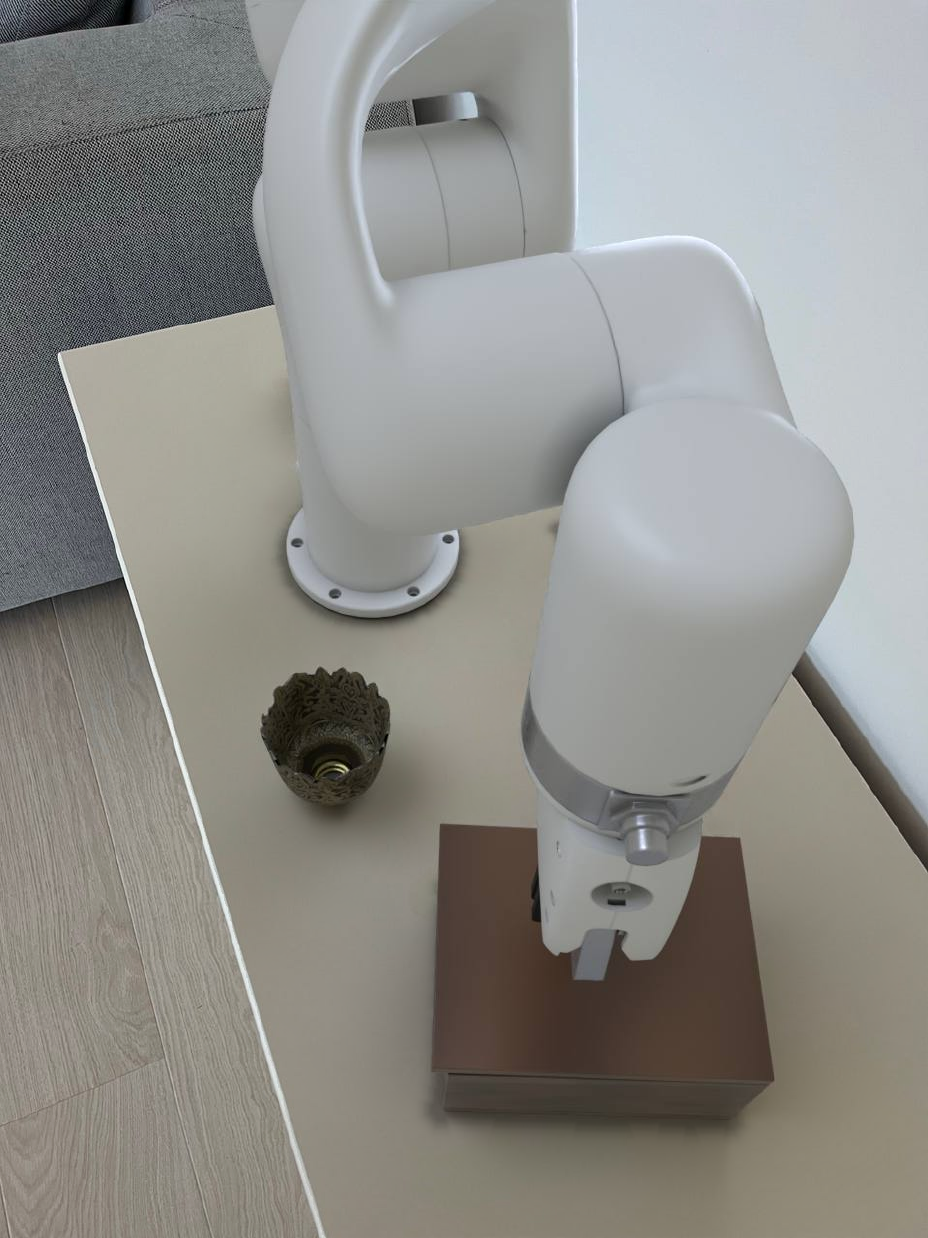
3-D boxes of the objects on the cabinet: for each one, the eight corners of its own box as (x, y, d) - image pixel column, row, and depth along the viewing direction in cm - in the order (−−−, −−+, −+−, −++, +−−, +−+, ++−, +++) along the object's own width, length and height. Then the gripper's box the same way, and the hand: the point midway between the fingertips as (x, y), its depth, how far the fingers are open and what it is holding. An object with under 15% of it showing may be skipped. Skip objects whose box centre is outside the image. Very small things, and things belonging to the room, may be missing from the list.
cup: (308, 716, 71) (298, 647, 65) (410, 756, 70) (411, 690, 63) (253, 811, 67) (236, 747, 60) (360, 855, 65) (355, 795, 59)
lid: (431, 1072, 51) (431, 1068, 50) (439, 829, 58) (440, 823, 57) (770, 1085, 51) (775, 1081, 51) (736, 843, 59) (740, 836, 58)
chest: (443, 1111, 57) (447, 1075, 51) (449, 888, 65) (454, 833, 58) (731, 1120, 58) (770, 1085, 51) (704, 897, 65) (736, 843, 59)
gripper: (772, 941, 33) (653, 1075, 48) (716, 553, 41) (630, 770, 56) (525, 932, 32) (484, 1069, 47) (521, 543, 41) (487, 764, 56)
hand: (563, 907), depth 52 cm, fingers closed
